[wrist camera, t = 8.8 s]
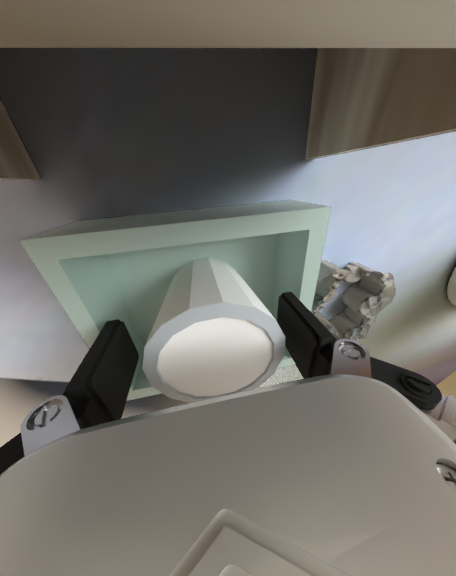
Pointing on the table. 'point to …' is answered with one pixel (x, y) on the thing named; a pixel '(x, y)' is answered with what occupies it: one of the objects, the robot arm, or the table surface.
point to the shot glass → (211, 336)
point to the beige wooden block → (275, 34)
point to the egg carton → (352, 298)
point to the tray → (176, 263)
